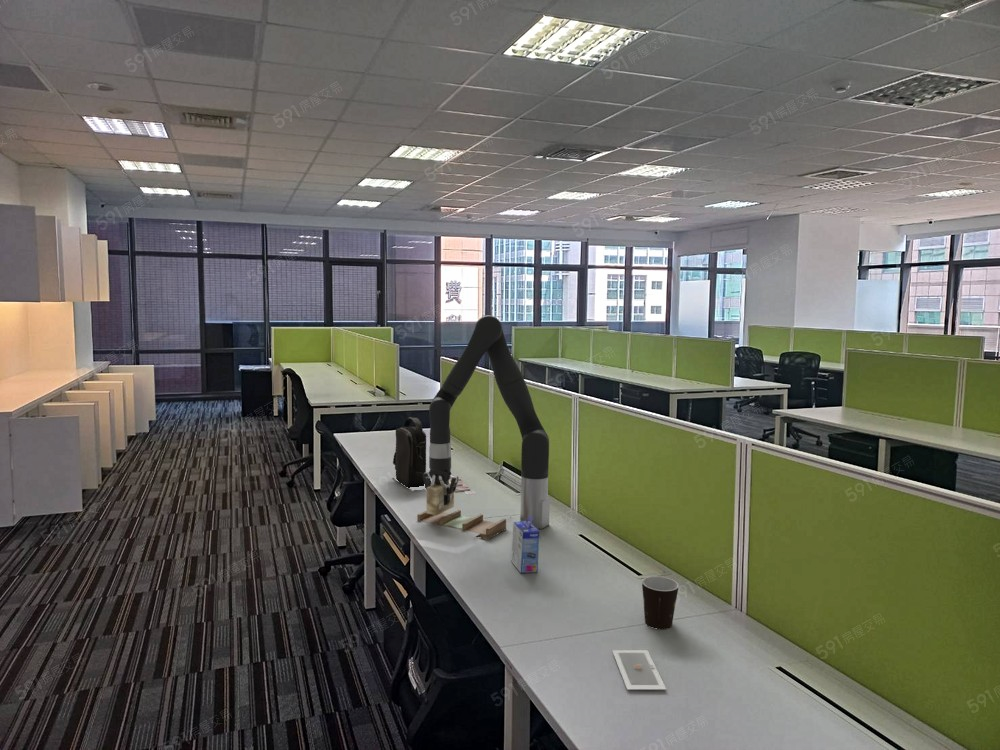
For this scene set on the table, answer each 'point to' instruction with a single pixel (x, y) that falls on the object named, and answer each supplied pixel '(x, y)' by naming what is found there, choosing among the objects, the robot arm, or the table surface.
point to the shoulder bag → (410, 454)
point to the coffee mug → (659, 601)
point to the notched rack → (464, 523)
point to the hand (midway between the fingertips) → (440, 503)
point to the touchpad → (638, 669)
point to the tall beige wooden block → (437, 500)
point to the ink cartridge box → (525, 546)
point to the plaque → (463, 487)
